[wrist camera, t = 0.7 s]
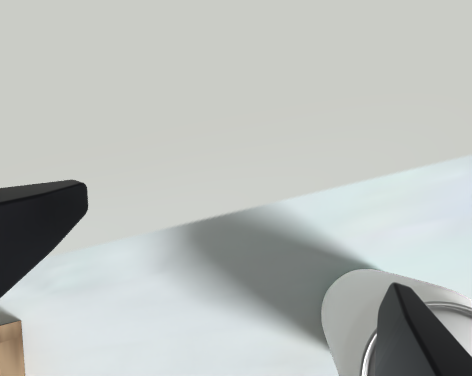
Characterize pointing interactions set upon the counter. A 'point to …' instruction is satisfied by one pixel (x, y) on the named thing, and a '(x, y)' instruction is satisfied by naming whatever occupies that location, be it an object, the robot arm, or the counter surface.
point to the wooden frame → (11, 350)
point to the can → (366, 315)
